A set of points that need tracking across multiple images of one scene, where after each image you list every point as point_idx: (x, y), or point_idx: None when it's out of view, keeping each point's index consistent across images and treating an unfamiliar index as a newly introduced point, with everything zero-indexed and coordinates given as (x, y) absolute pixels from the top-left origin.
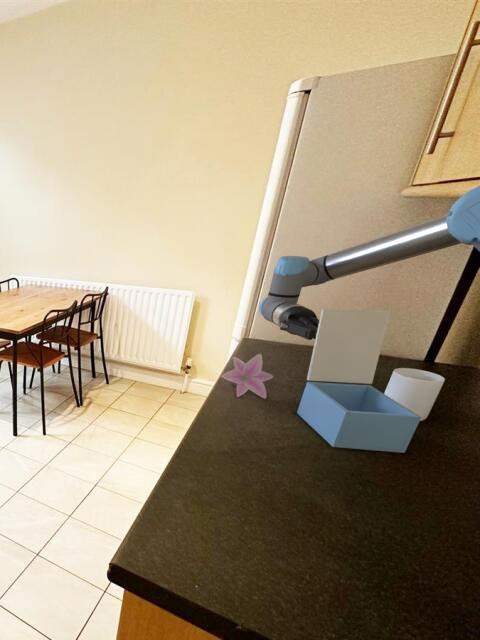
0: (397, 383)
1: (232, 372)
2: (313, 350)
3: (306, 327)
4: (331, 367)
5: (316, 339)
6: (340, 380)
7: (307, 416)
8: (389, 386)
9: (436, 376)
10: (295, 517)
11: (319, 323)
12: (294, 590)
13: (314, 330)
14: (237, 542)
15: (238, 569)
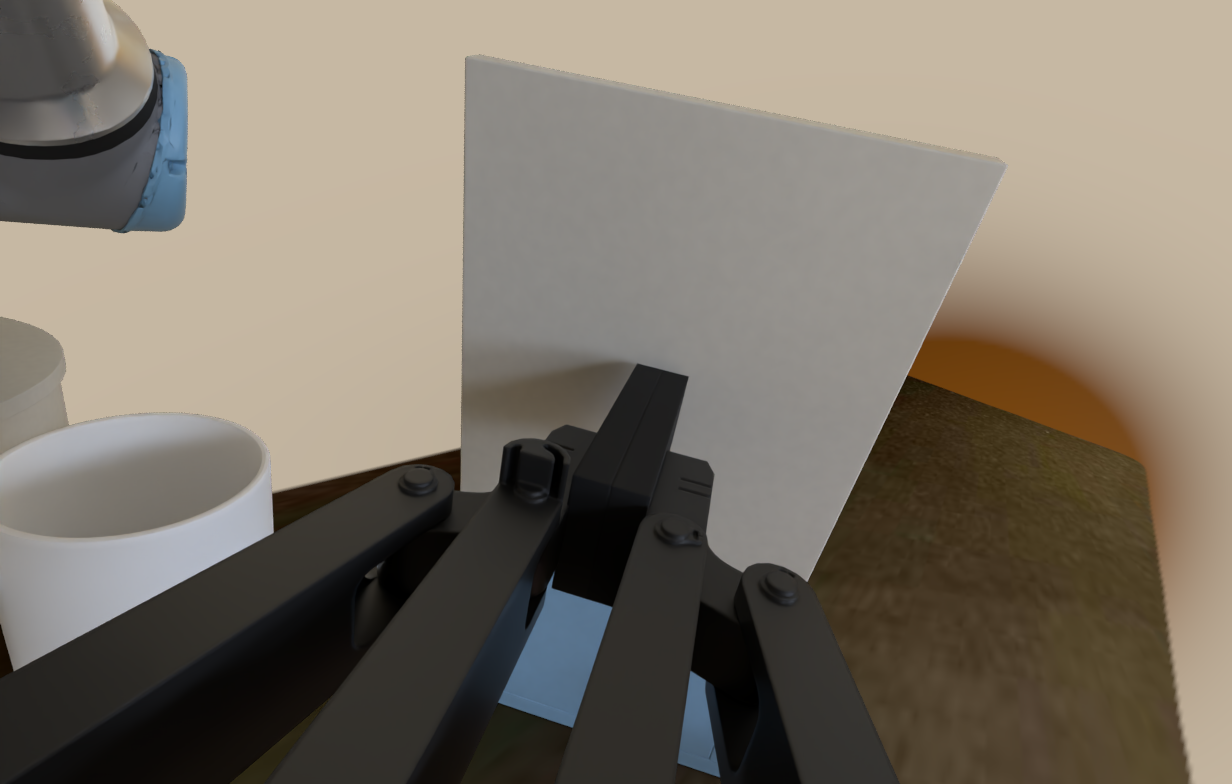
0: (261, 529)
1: None
2: (852, 484)
3: (806, 700)
4: None
5: (883, 411)
6: None
7: None
8: None
9: (31, 454)
10: (917, 455)
11: (942, 294)
12: (944, 411)
13: (760, 564)
14: (1006, 450)
15: (1003, 432)
